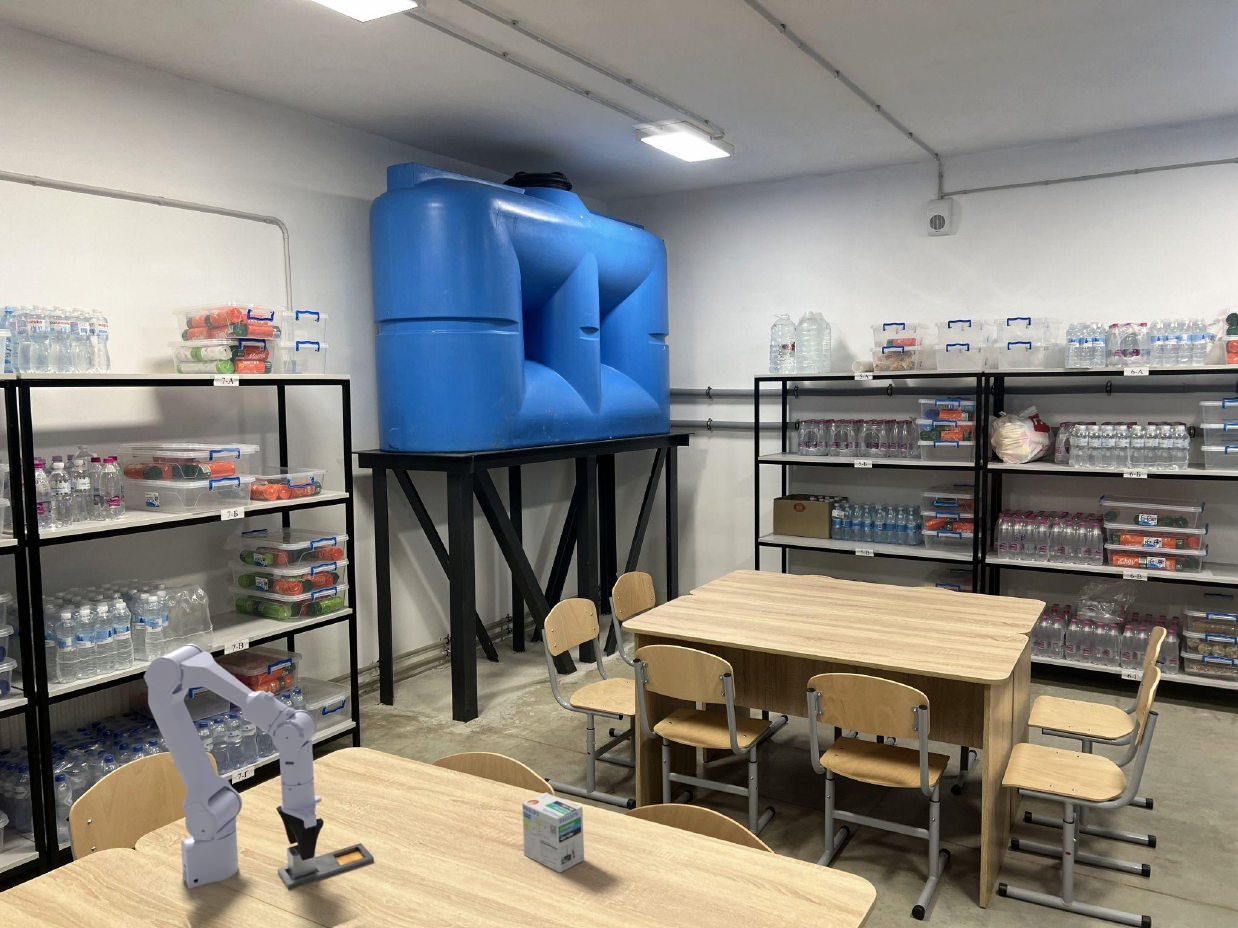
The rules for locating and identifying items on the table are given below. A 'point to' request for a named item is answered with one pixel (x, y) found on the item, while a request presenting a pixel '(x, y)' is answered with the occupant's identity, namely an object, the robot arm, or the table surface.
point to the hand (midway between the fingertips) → (301, 849)
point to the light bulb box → (553, 831)
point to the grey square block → (299, 864)
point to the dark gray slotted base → (331, 864)
